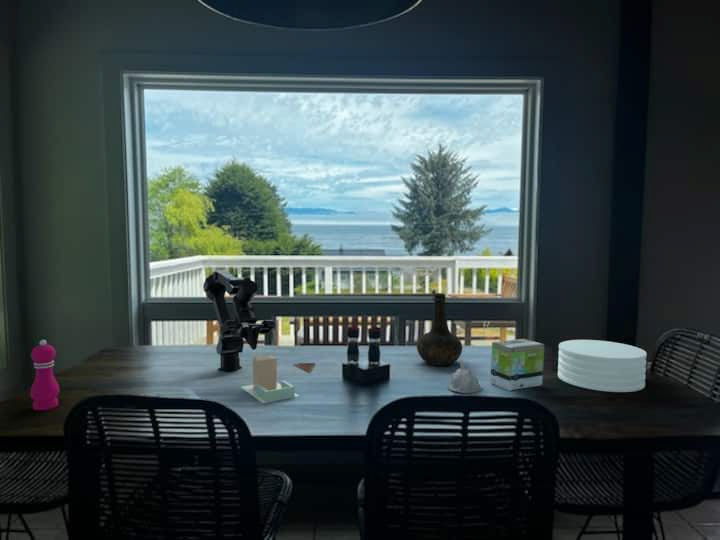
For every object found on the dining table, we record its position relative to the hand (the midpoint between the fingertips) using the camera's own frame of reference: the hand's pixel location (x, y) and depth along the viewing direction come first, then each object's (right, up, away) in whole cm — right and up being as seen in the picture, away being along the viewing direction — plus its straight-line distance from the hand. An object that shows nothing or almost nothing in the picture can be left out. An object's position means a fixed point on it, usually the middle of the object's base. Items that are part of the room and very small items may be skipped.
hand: (254, 349), depth 165 cm
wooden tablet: (+12, -12, +18) cm, 25 cm away
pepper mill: (-57, -14, -20) cm, 62 cm away
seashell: (+70, -13, 0) cm, 72 cm away
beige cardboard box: (+5, -12, -6) cm, 14 cm away
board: (+7, -13, -9) cm, 17 cm away
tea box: (+89, -13, +5) cm, 90 cm away
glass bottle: (+67, -11, +32) cm, 75 cm away
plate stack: (+121, -13, +11) cm, 122 cm away
